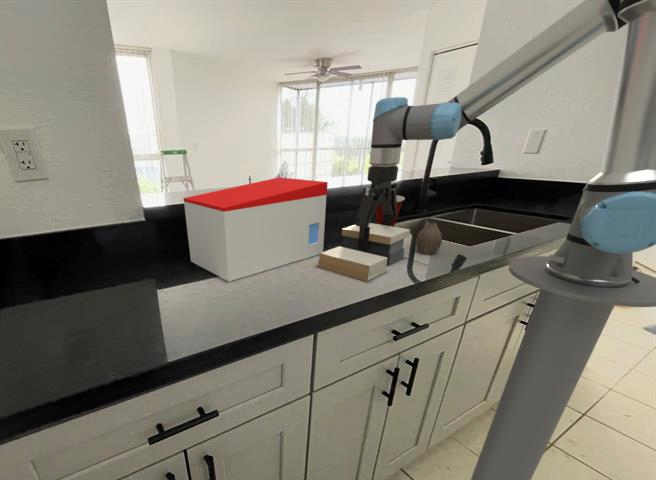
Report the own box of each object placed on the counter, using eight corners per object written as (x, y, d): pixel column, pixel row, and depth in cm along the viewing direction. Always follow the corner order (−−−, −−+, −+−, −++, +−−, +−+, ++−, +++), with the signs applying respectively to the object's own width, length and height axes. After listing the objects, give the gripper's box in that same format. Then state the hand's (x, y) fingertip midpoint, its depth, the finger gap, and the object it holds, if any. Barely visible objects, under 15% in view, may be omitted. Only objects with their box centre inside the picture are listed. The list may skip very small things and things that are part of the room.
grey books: (403, 258, 97) (406, 237, 95) (388, 265, 92) (391, 244, 89) (357, 247, 108) (359, 229, 105) (341, 253, 102) (343, 234, 100)
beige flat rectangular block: (409, 236, 95) (410, 229, 94) (389, 244, 89) (390, 237, 88) (362, 228, 106) (363, 221, 105) (341, 235, 99) (342, 228, 98)
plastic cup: (363, 229, 128) (367, 197, 123) (380, 225, 134) (384, 194, 129) (388, 234, 120) (393, 200, 115) (405, 229, 126) (410, 197, 121)
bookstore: (323, 252, 103) (328, 181, 94) (228, 281, 84) (222, 196, 76) (279, 239, 118) (279, 177, 109) (190, 261, 99) (182, 188, 91)
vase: (427, 257, 97) (433, 227, 94) (409, 250, 103) (413, 222, 99) (444, 253, 100) (451, 224, 96) (426, 247, 105) (431, 219, 102)
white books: (385, 272, 87) (387, 257, 86) (367, 281, 82) (368, 266, 80) (337, 259, 98) (338, 246, 96) (318, 266, 92) (318, 253, 91)
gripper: (392, 162, 99) (382, 235, 108) (345, 168, 84) (339, 251, 94) (417, 162, 94) (405, 239, 103) (372, 169, 79) (362, 257, 89)
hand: (373, 245), depth 98 cm, fingers closed on beige flat rectangular block, 11 cm apart
